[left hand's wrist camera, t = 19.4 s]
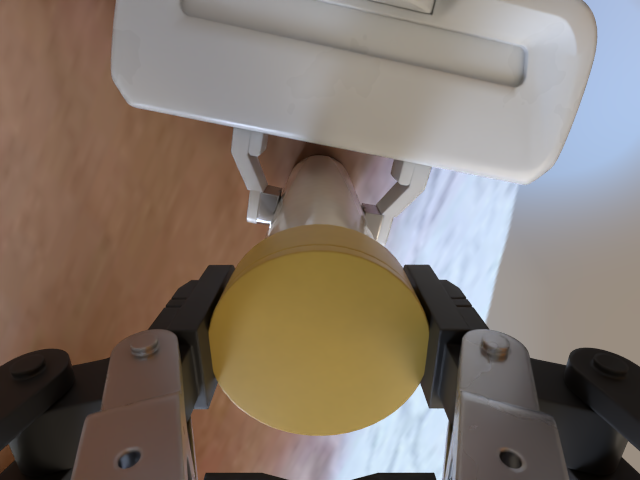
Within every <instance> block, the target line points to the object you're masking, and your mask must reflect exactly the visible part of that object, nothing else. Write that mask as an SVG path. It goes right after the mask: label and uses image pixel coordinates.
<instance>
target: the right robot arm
mask: <svg viewBox="0 0 640 480" xmlns="http://www.w3.org/2000/svg"><path fill="white" fill-rule="evenodd" d="M596 45H597V26H596V21H595V18H594V15H593V13H592V11H591V9H590V8H589V6H588V5H587V4H586V3H585V2H584V1H583V0H116V5H115V13H114V22H113V34H112V49H111V75H112V79H113V81H114V83H115V85H116V86H117V88H118V89H119V91H120V93H121V94H122V96H123V97H124V99H125V100H126V101H127V103H128V104H129V105H130V106H132V107H136V108H140V109H145V110H150V111H155V112H160V113H165V114H170V115H175V116H180V117H185V118H190V119H195V120H200V121H205V122H210V123H215V124H220V125H225V126H230V127H234V128H233V138H232V147H231V153H232V155H233V157H234V160H235V162H236V164H237V167H238V169H239V171H240V173H241V176H242V178H243V180H244V182H245V185H246V187H247V189H248V190H250V196H249V204H248V211H247V222H251V223H255V224H256V223H257V224H263V225H269V226H270V224H271V221H272V218H273V216H274V213H275V211H276V208H277V206H278V203H279V201H280V198H281V194H282V188H280V187H275V186H270V185H268V183H267V181H266V178H265V175H264V173H263V170H262V168H261V165H260V162H259V160H258V157H257V156H259V155H261V154H262V153H263V152H264V151H265V150H266V148H267V141H268V134H270V135H275V136H280V137H285V138H290V139H295V140H300V141H305V142H310V143H316V144H321V145H326V146H331V147H336V148H341V149H346V150H351V151H356V152H361V153H366V154H371V155H376V156H381V157H386V158H391V159H394V162H393V166H392V170H391V175H392V176H393V177H394V178H395V179H396V181H397V183H396V184H395V185H394V186H393V187H392V188H391V189H390V190H389V191H388V192H387V193H386V195H385V196H384V197H383V198H382V199H381V200H380V201H379V202H378V203H377V204H376V205H377V206H376V205H370V204H364V203H362V205H361V207H362V209H363V212H364V214H365V217H366V220H367V222H368V225H369V227H370V230H371V232H372V235H373V238H374V240H376V241H377V242H379V243H380V244H381V245H382V246H385V244H386V242H387V239H388V235H389V231H390V228H391V224H392V221H393V217H397V216H398V215H399V214H400V213H401V212H402V211H403V210H404V209H405V208H406V207H407V206H408V205H409V204H411V203H412V202H413V201H414V200H415V199H416V198H417V197H418V196H419V195H420V194H421V193H422V192H423V191H424V190H425V187H426V184H427V181H428V177H429V174H430V171H431V168H432V167H436V168H441V169H446V170H451V171H456V172H461V173H466V174H471V175H476V176H481V177H486V178H491V179H496V180H501V181H506V182H511V183H516V184H521V185H528V184H530V183H532V182H533V181H535V180H536V179H538V178H539V177H540V176H542V175H543V174H544V173H546V172H547V171H548V170H549V169H551V168H552V167H553V165H554V164H555V162H556V161H557V159H558V157H559V155H560V153H561V151H562V148H563V146H564V144H565V141H566V139H567V136H568V134H569V132H570V129H571V126H572V124H573V121H574V118H575V116H576V113H577V111H578V108H579V105H580V102H581V99H582V96H583V94H584V91H585V87H586V84H587V81H588V78H589V75H590V71H591V68H592V64H593V61H594V56H595V52H596Z"/></svg>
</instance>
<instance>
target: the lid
mask: <svg viewBox="0 0 640 480" xmlns="http://www.w3.org/2000/svg"><path fill="white" fill-rule="evenodd" d="M208 334H209V342H210V350H211V358H212V366H213V372H214V375H215V378H216V380H217V381H218V383H219V385H220V386H221V388H222V390H223V391H224V392H225V393H226V395H227V396H228V397H229V398H230V400H231V401H232V402H234V403H235V404H236V405H237V406H238V407H239V408H240V409H241V410H243V411H244V412H245V413H247V414H248V415H249V416H251V417H253V418H254V419H256V420H258V421H260V422H262V423H264V424H266V425H268V426H270V427H273V428H276V429H279V430H282V431H286V432H290V433H295V434H301V435H310V436H327V435H338V434H343V433H349V432H352V431H356V430H359V429H363V428H365V427H368V426H370V425H373V424H375V423H377V422H378V421H380V420H382V419H384V418H386V417H387V416H389V415H390V414H392V413H393V412H395V411H396V410H397V409H398V408H399V407H400V406H402V405H403V404H404V403H405V402H406V401H407V400H408V398H409V397H410V396H411V395H412V394H413V393H414V391H415V390H416V388H417V387H418V385H419V384H420V382H421V380H422V378H423V376H424V371H425V364H426V356H427V348H428V340H429V324H428V321H427V318H426V314H425V312H424V310H423V308H422V306H421V304H420V302H419V299H418V297H417V295H416V293H415V291H414V289H413V287H412V285H411V283H410V281H409V279H408V277H407V275H406V273H405V271H404V269H403V268H402V266H401V265H400V263H399V262H398V261H397V259H396V258H395V257H394V256H393V255H392V254H391V253H390V252H389V251H388V249H386V248H385V247H384V246H382V245H381V244H380V243H379V242H377V241H376V240H374V239H372V238H371V237H369V236H367V235H365V234H363V233H360V232H358V231H356V230H353V229H349V228H345V227H342V226H335V225H329V224H311V225H302V226H297V227H293V228H288V229H286V230H283V231H280V232H278V233H275V234H273V235H271V236H270V237H268V238H266V239H264V240H263V241H261V242H260V243H258V244H257V245H256V246H254V247H253V248H252V249H251V250H250V251H249V252H248V253H247V254H246V255H245V256H244V257H243V258H242V260H241V261H240V262H239V263H238V265H237V267H236V268H235V270H234V272H233V274H232V276H231V277H230V279H229V281H228V283H227V285H226V287H225V289H224V291H223V293H222V295H221V297H220V299H219V301H218V303H217V305H216V307H215V310H214V312H213V315H212V317H211V320H210V325H209V329H208Z"/></svg>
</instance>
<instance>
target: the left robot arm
mask: <svg viewBox="0 0 640 480" xmlns="http://www.w3.org/2000/svg"><path fill="white" fill-rule="evenodd" d="M403 269H404V271H405V273H406V275H407V277H408V279H409V281H410V283H411V285H412V287H413V289H414V291H415V293H416V295H417V297H418V299H419V302H420V304H421V306H422V308H423V310H424V312H425V314H426V318H427V321H428V324H429V340H428V348H427V356H426V364H425V371H424V376H423V378H422V380H421V382H420V384H421V386H422V389H423V392H424V395H425V398H426V401H427V404H428V406H429V408H444V409H445V412H446V414H447V417H448V420H449V422H448V428H447V437H446V447H445V457H444V467H443V478H442V480H640V474H639V473H638V472H637V471H636V470H635V469H634V468H633V467H632V466H631V465H630V464H629V463H627V462H626V461H625V460H624V459H623V458H622V454H623V452H624V449H625V447H626V445H627V442H628V441H629V442H630V443H631V444H632V445H634V446H635V447H636V448H637V449H638V450H639V451H640V367H639V366H638V365H636V364H635V363H633V362H631V361H630V360H628V359H626V358H624V357H622V356H619V355H617V354H614V353H611V352H608V351H605V350H600V349H595V348H579V349H575V350H573V351H572V352H571V353H570V355H569V359H568V362H567V365H562V364H557V363H552V362H547V361H542V360H537V359H533V358H530V356H529V353H528V350H527V349H526V347H525V346H524V345H523V344H522V343H520V342H519V341H518V340H516V339H515V338H513V337H511V336H509V335H507V334H504V333H501V332H498V331H494V330H489V328H488V327H487V325H486V324H485V323H484V321H483V320H482V319H481V317H480V316H479V314H478V313H477V312H476V310H475V309H474V308H473V307H472V305H471V304H470V302H469V301H468V299H466V297H465V295H464V294H463V293H462V291H461V290H460V289H459V288H458V287H457V286H455V285H454V284H452V283H450V282H449V281H447V280H439V279H438V277H437V276H436V274H435V273H434V271H433V270H432V268H431V267H430V265H404V268H403ZM234 270H235V268H234V266H233V265H209V266H208V267H207V268H206V270H205V271H204V273H203V274H202V276H201V277H200V279H199V280H191V281H189V282H188V283H186V284H185V285H183V286H182V287H180V288H179V289H178V290H177V291H176V293H175V294H174V295H173V297H172V300H170V301H169V302H168V303H167V305H166V308H164V309H163V310H162V312H161V313H160V314H159V316H158V317H157V318H156V320H155V321H154V322H153V324H152V325H151V326H150V328H149V329H148V330H146V331H142V332H139V333H136V334H133V335H131V336H129V337H127V338H125V339H124V340H122V341H121V342H120V343H118V344H117V345H116V346H115V347H114V349H113V350H112V353H111V356H110V358H107V359H103V360H98V361H93V362H89V363H84V364H79V365H74V366H72V365H71V361H70V358H69V355H68V354H67V353H66V352H65V351H63V350H60V349H44V350H38V351H34V352H30V353H27V354H24V355H21V356H19V357H17V358H15V359H13V360H11V361H9V362H7V363H5V364H4V365H2V366H1V367H0V451H1V450H2V449H3V448H4V447H5V446H6V445H8V444H9V446H10V448H11V451H12V453H13V455H14V458H15V461H14V462H13V463H11V464H10V465H9V466H8V467H7V468H6V469H5V470H4V471H3V472H2V473H1V474H0V480H198V478H197V467H196V457H195V447H194V437H193V428H192V422H191V413H192V411H193V409H208V408H209V405H210V403H211V400H212V397H213V394H214V391H215V389H216V386H217V383H218V381H217V380H216V378H215V375H214V372H213V366H212V358H211V350H210V342H209V334H208V329H209V325H210V320H211V317H212V315H213V312H214V310H215V307H216V305H217V303H218V301H219V299H220V297H221V295H222V293H223V291H224V289H225V287H226V285H227V283H228V281H229V279H230V277H231V276H232V274H233V272H234ZM204 480H287V479H283V478H279V477H276V476H272V475H268V474H264V473H206V474H205V477H204ZM353 480H436V477H435V474H434V473H376V474H372V475H368V476H364V477H361V478H357V479H353Z"/></svg>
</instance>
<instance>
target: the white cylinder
mask: <svg viewBox="0 0 640 480" xmlns="http://www.w3.org/2000/svg"><path fill="white" fill-rule="evenodd" d="M311 224H329V225H335V226H342V227H345V228H349V229H353V230H356V231H358V232H360V233H363V234H365V235H367V236H369V237H371V238H372V239H374V238H373V235H372V232H371V230H370V227H369V225H368V222H367V220H366V217H365V214H364V212H363V209H362V207H361V204H360V202H359V199H358V197H357V194H356V191H355V189H354V186H353V184H352V181H351V179H350V176H349V174H348V172H347V170H346V169H345V167H344V166H343V165H342V164H341V163H340V162H338V161H337V160H335V159H333V158H331V157H328V156H323V155H316V156H311V157H308V158H305V159H303V160H302V161H300V162H299V163H298V164H297V165H296V166H295V167H294V168H293V170H292V171H291V173H290V175H289V178H288V180H287V183H286V185H285V188H284V191H283V193H282V196H281V198H280V201H279V203H278V206H277V208H276V211H275V213H274V216H273V218H272V221H271V224H270V226H269V229H268V231H267V234H266V236H265V239H266V238H268V237H270V236H271V235H273V234H275V233H278V232H280V231H283V230H286V229H288V228H293V227H297V226H302V225H311Z"/></svg>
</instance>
